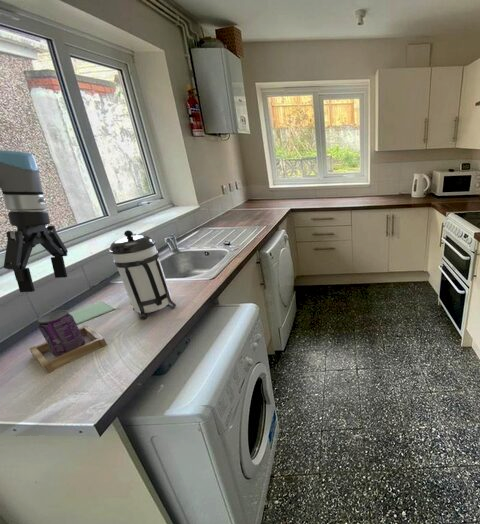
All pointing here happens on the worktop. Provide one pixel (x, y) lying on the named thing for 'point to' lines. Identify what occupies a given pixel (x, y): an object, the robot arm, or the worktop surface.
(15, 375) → the worktop surface
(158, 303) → the coffee press
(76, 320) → the mat
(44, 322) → the beverage can
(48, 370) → the shallow wooden tray
